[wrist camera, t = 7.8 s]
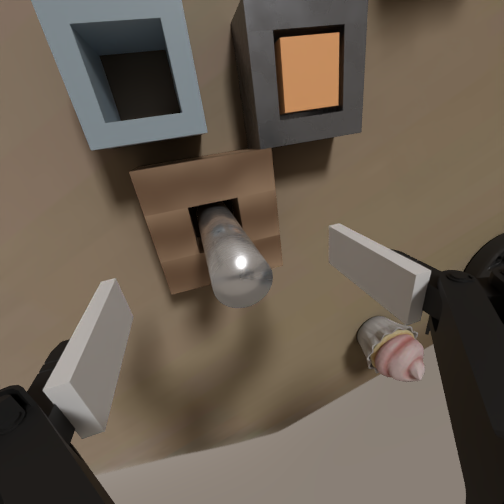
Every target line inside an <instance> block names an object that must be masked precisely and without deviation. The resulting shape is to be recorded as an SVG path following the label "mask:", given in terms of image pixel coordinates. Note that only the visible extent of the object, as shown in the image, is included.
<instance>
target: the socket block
mask: <svg viewBox="0 0 504 504" xmlns="http://www.w3.org/2000/svg"><path fill="white" fill-rule="evenodd" d="M129 174H130V177H131V180H132V182H133V185H134V188H135V191H136V194H137V197H138V200H139V202H140V205H141V208H142V211H143V214H144V217H145V220H146V223H147V225H148V228H149V231H150V234H151V237H152V240H153V243H154V245H155V248H156V251H157V254H158V257H159V260H160V263H161V266H162V268H163V271H164V274H165V277H166V280H167V283H168V286H169V289H170V291H171V294H172V295H173V294H177V293H180V292H184V291H188V290H192V289H196V288H199V287H203V286H207V285H211V279H210V275H209V270H208V266H207V261H206V257H205V252H204V248H203V243H202V238H201V237H198V238H197V236H196V233H195V229H194V225H193V221H192V217H191V213H190V210H189V207H193V206H198V205H203V204H208V203H213V202H218V201H223V200H228V199H231V203H232V208H233V214H234V217H235V219H236V220H237V221H238V223H239V224H240V226H241V227H242V228H243V230H244V231H245V233H246V234H247V235H248V237H249V238H250V239H251V241H252V242H253V244H254V245H255V246H256V248H257V249H258V251H259V252H260V253H261V255H262V256H263V257H264V259H265V260H266V262H267V263H268V264H269V266H270V268H271V269H272V268H276V267H279V266H283V262H282V252H281V242H280V232H279V221H278V211H277V201H276V190H275V180H274V170H273V159H272V149H271V148H267V149H261V150H260V149H249V148H248V149H242V150H236V151H230V152H224V153H218V154H212V155H206V156H200V157H194V158H188V159H182V160H177V161H171V162H165V163H159V164H153V165H147V166H141V167H137V168H135V169H133V170H132V171H130V172H129Z"/></svg>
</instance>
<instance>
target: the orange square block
mask: <svg viewBox="0 0 504 504" xmlns="http://www.w3.org/2000/svg"><path fill="white" fill-rule="evenodd" d="M274 51H275V64H276V76H277V89H278V102H279V114H280V115H287V114H294V113H301V112H307V111H314V110H320V109H324V108H329V107H333V106H337V105H338V94H339V32H337V33H326V34H314V35H303V36H292V37H281V38H279V39H278V40H277V41H276V42H275V43H274Z"/></svg>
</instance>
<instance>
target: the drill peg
mask: <svg viewBox="0 0 504 504" xmlns="http://www.w3.org/2000/svg"><path fill="white" fill-rule="evenodd" d="M196 216H197V220H198V225H199V229H200V234H201V238H202V243H203V248H204V252H205V257H206V261H207V266H208V270H209V275H210V279H211V284H212V288H213V292H214V294H215V296H216V298H217V299H218V300H219V301H220V302H221V303H222V304H224V305H226V306H228V307H232V308H245V307H249V306H252V305H254V304H256V303H257V302H259V301H260V300H261V299H263V298H264V297H265V295H266V294H267V293H268V291H269V290H270V287H271V285H272V279H273V275H272V270H271V268H270V266H269V264H268V263H267V262H266V260H265V259H264V257H263V256H262V255H261V253H260V252H259V251H258V249H257V248H256V246H255V245H254V244H253V242H252V241H251V239H250V238H249V237H248V235H247V234H246V233H245V231H244V230H243V228H242V227H241V226H240V224H239V223H238V221H237V220H236V219H235V217H234V216H233V215H232V213H231V212H230V210H229V209H228V208H227V206H226V205H225V204H224V203H223V202H222V201H218V202H213V203H208V204H203V205H199V206H198V208H197V212H196Z"/></svg>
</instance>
